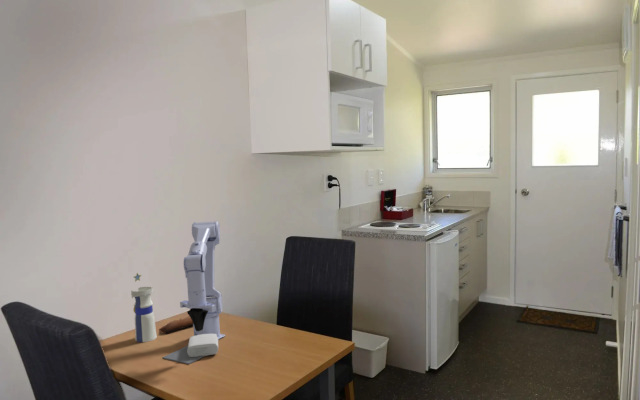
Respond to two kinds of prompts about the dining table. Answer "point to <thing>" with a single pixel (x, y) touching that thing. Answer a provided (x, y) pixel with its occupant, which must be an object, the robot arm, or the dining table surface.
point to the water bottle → (144, 314)
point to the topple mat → (182, 356)
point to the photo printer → (202, 345)
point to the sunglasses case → (177, 325)
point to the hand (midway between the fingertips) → (199, 330)
